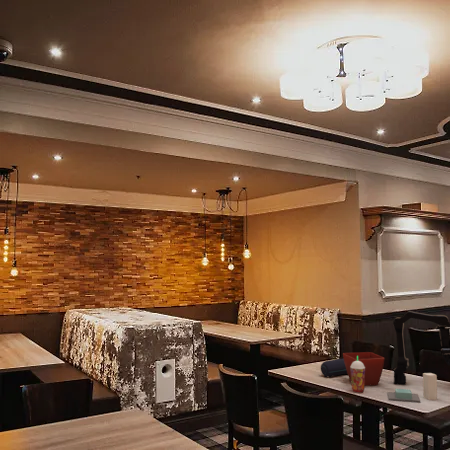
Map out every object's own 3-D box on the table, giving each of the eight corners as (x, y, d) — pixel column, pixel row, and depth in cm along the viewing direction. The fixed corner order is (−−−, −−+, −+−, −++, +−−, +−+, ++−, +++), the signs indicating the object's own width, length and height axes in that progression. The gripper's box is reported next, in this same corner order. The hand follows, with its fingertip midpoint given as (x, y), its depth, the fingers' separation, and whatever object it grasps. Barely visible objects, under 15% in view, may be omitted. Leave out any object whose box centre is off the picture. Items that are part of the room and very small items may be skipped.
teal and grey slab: (388, 400, 263) (388, 392, 263) (387, 393, 277) (387, 386, 277) (420, 402, 259) (420, 394, 259) (417, 395, 272) (417, 388, 272)
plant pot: (355, 388, 288) (354, 358, 290) (342, 380, 307) (342, 352, 308) (385, 386, 291) (385, 358, 293) (371, 379, 310) (370, 352, 311)
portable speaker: (344, 371, 332) (344, 356, 333) (356, 374, 324) (355, 358, 325) (317, 376, 318) (317, 360, 319) (329, 379, 310) (328, 363, 311)
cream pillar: (428, 400, 264) (428, 375, 265) (423, 397, 269) (422, 373, 270) (437, 399, 265) (436, 375, 265) (431, 397, 269) (431, 373, 270)
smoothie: (348, 389, 285) (347, 354, 286) (362, 389, 285) (361, 354, 287) (353, 393, 276) (352, 357, 278) (367, 393, 277) (367, 357, 279)
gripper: (460, 338, 279) (464, 366, 277) (460, 334, 296) (463, 360, 294) (439, 339, 283) (443, 366, 282) (439, 334, 300) (443, 360, 298)
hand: (448, 363), depth 289 cm, fingers open, 9 cm apart
